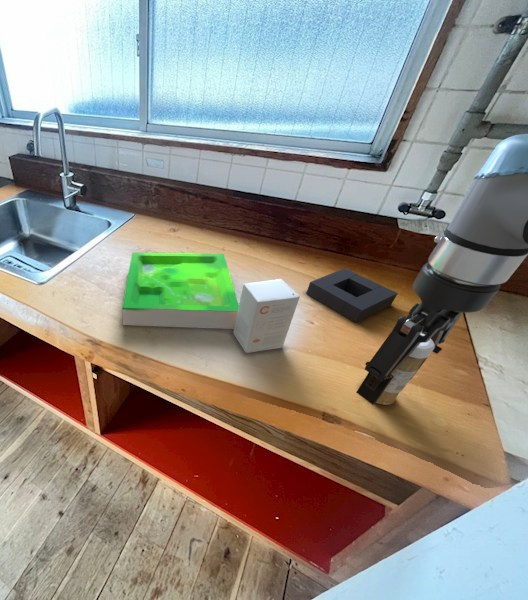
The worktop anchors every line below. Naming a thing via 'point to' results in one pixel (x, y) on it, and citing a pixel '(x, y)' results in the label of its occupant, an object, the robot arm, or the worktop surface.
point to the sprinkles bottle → (406, 372)
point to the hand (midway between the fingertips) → (384, 385)
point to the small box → (264, 315)
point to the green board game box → (179, 291)
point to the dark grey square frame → (352, 307)
